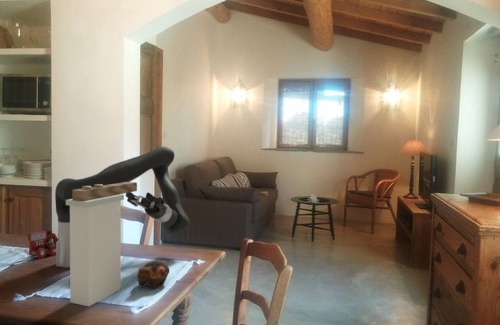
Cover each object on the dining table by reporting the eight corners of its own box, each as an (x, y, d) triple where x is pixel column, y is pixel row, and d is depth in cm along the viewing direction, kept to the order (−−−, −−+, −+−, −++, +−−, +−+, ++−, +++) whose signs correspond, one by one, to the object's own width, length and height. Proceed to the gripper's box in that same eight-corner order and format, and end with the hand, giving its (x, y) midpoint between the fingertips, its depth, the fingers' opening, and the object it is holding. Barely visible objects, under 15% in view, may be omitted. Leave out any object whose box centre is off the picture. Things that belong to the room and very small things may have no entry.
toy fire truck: (63, 253, 162) (63, 229, 162) (33, 260, 152) (33, 235, 151) (54, 250, 166) (54, 226, 166) (24, 257, 156) (24, 232, 155)
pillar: (104, 284, 129) (104, 193, 127) (123, 288, 126) (124, 194, 124) (66, 303, 114) (65, 200, 112) (87, 308, 111) (87, 202, 109)
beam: (127, 190, 135) (127, 179, 135) (136, 191, 134) (136, 180, 133) (72, 200, 112) (72, 187, 111) (83, 201, 110) (83, 188, 110)
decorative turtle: (128, 291, 123) (128, 266, 123) (152, 278, 138) (152, 256, 138) (155, 294, 121) (155, 268, 121) (176, 280, 135) (176, 257, 135)
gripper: (146, 200, 155) (123, 183, 141) (177, 202, 150) (157, 185, 136) (140, 217, 152) (117, 202, 138) (171, 220, 147) (150, 205, 133)
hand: (136, 194), depth 137 cm, fingers open, 8 cm apart
